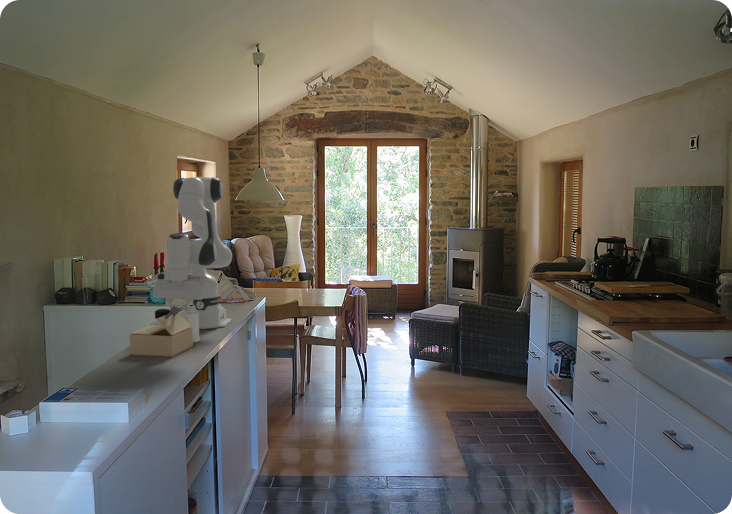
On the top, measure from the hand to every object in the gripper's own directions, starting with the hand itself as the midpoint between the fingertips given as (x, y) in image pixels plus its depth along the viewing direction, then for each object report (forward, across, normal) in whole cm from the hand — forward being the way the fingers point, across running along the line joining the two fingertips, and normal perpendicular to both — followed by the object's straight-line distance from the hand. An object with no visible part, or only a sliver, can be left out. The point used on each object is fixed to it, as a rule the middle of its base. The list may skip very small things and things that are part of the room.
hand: (179, 309), depth 228 cm
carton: (+17, +8, 0) cm, 19 cm away
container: (+17, +18, -18) cm, 31 cm away
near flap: (+5, +2, 0) cm, 6 cm away
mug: (+17, +5, -16) cm, 24 cm away
